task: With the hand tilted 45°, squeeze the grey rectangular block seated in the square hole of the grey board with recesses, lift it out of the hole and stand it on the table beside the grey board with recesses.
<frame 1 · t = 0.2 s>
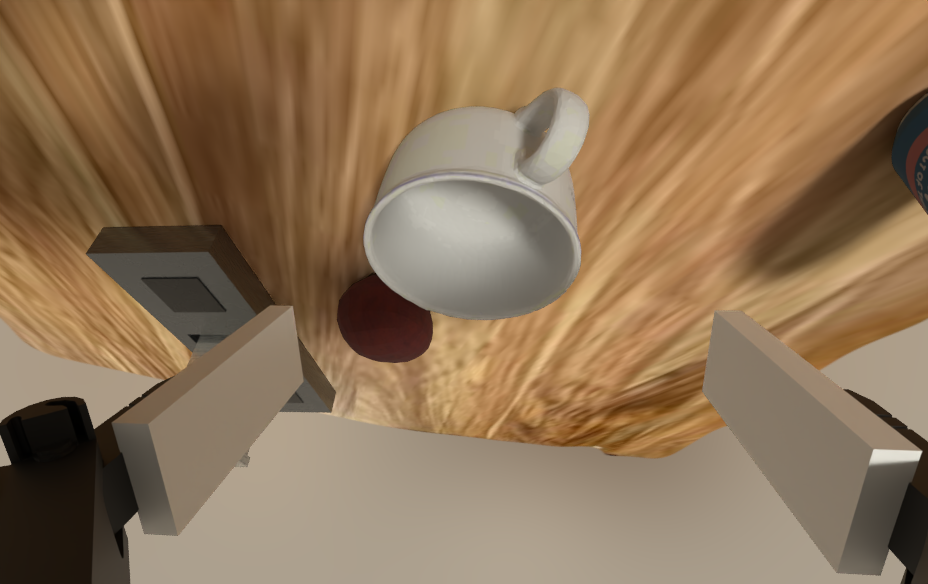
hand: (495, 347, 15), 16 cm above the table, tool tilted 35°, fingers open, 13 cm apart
grey board with recesses: (247, 329, 46), on the table
potato: (389, 288, 40), on the table
grey rectangular block: (247, 329, 46), resting in grey board with recesses
teacup: (494, 142, 28), on the table
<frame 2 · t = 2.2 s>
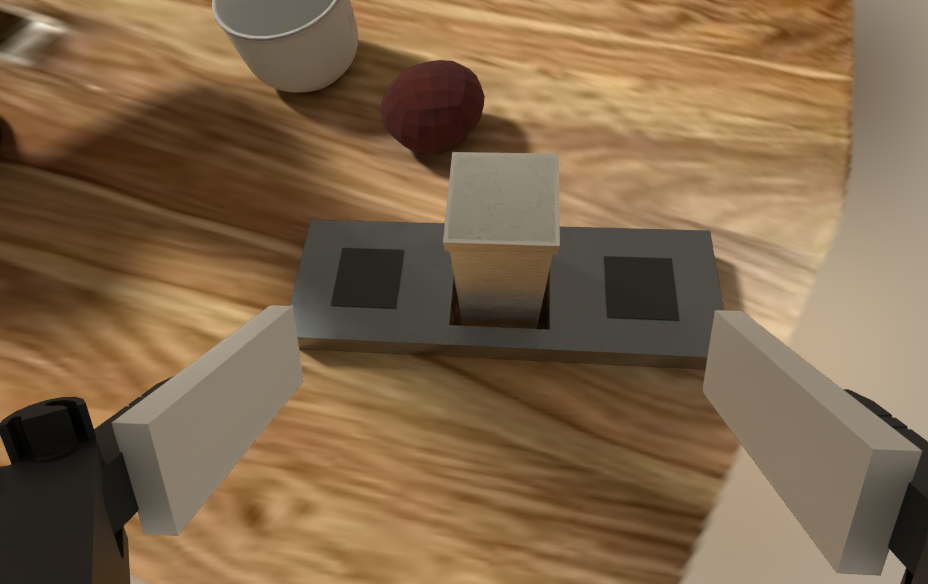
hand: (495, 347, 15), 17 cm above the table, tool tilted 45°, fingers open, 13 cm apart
grey board with recesses: (500, 297, 34), on the table
potato: (437, 137, 41), on the table
grey rectangular block: (500, 298, 34), resting in grey board with recesses
teacup: (301, 63, 46), on the table
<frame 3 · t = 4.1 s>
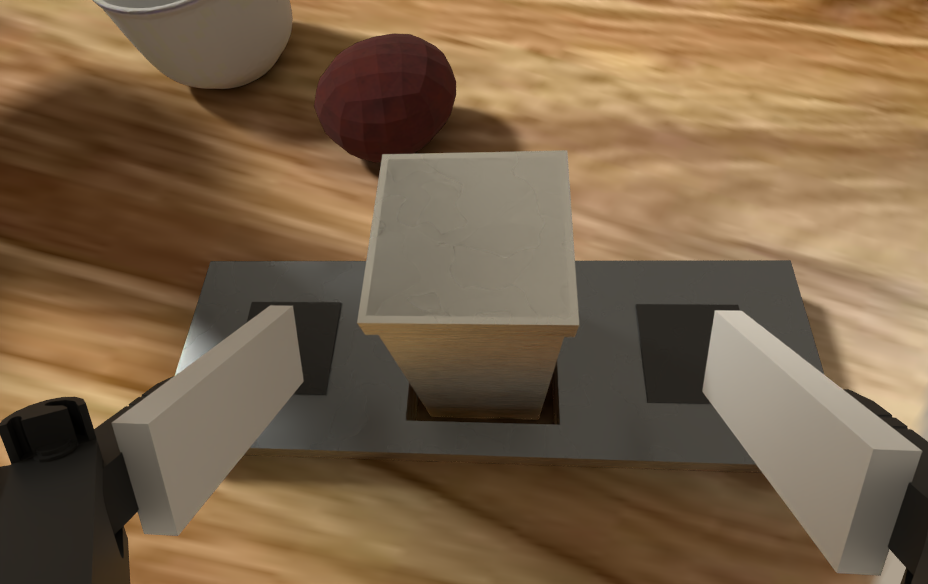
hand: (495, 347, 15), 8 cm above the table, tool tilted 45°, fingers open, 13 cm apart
grey board with recesses: (485, 366, 24), on the table
potato: (397, 140, 31), on the table
grey rectangular block: (485, 366, 24), resting in grey board with recesses
teacup: (225, 53, 36), on the table
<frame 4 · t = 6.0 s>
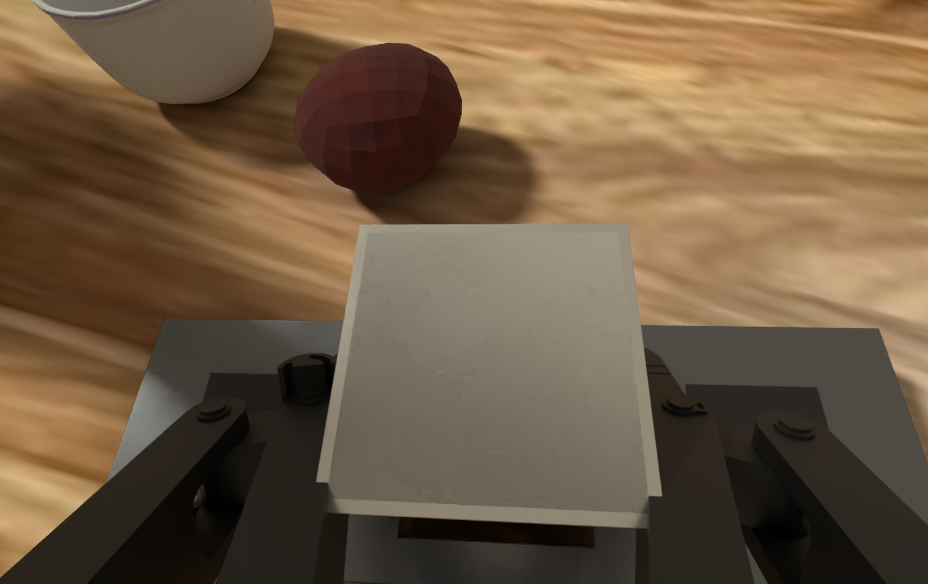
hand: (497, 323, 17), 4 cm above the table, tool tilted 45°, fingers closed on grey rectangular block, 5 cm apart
grey board with recesses: (497, 451, 19), on the table
potato: (392, 165, 27), on the table
grey rectangular block: (497, 451, 19), resting in grey board with recesses, touching gripper
teacup: (200, 62, 32), on the table
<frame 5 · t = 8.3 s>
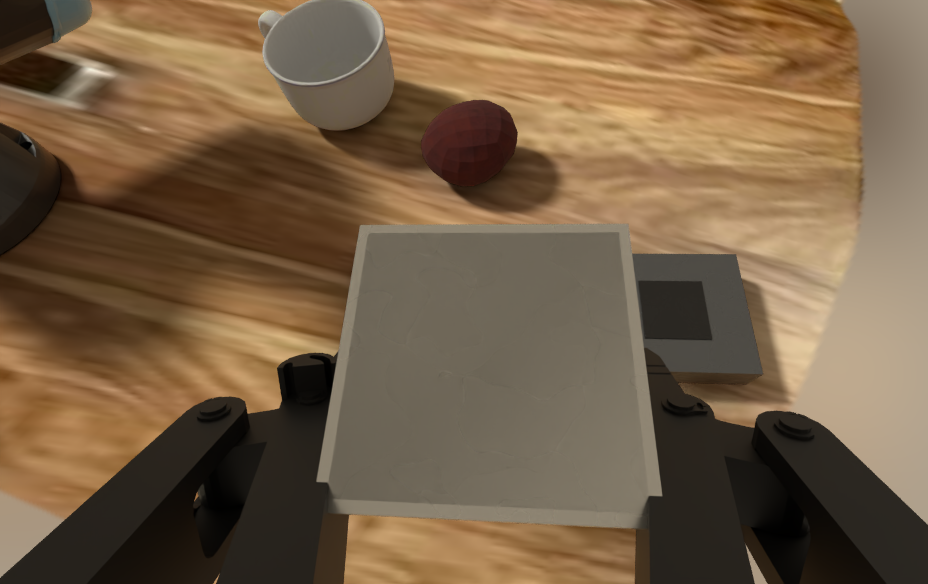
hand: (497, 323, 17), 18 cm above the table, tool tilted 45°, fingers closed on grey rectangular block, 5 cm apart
grey board with recesses: (541, 320, 37), on the table
potato: (471, 169, 44), on the table
grey rectangular block: (497, 451, 19), point 14 cm above the table, touching gripper
teacup: (339, 101, 49), on the table
when the fingers open (5 cm above the table, at t = 11.0 s): grey rectangular block stays where it is, on the table.
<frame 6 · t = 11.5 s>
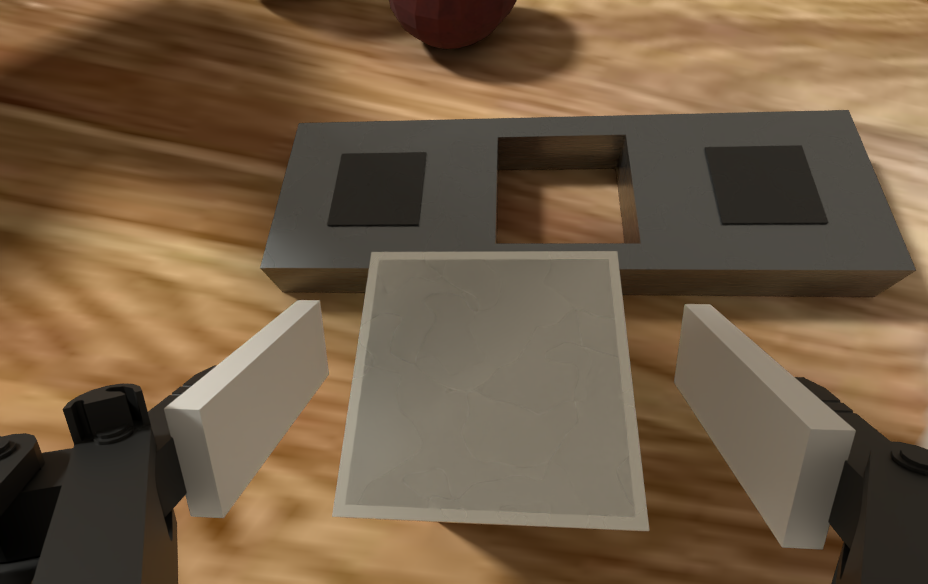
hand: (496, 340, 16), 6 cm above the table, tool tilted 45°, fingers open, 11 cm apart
grey board with recesses: (558, 217, 25), on the table
potato: (459, 36, 33), on the table
grey rectangular block: (497, 456, 20), on the table
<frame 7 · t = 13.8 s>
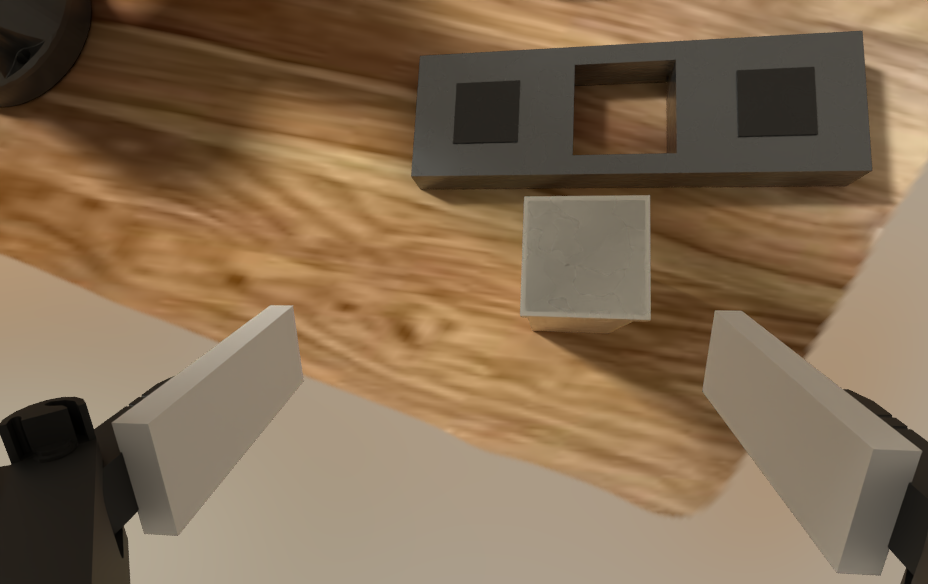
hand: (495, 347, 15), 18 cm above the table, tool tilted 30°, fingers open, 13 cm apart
grey board with recesses: (618, 126, 34), on the table
grey rectangular block: (570, 295, 33), on the table
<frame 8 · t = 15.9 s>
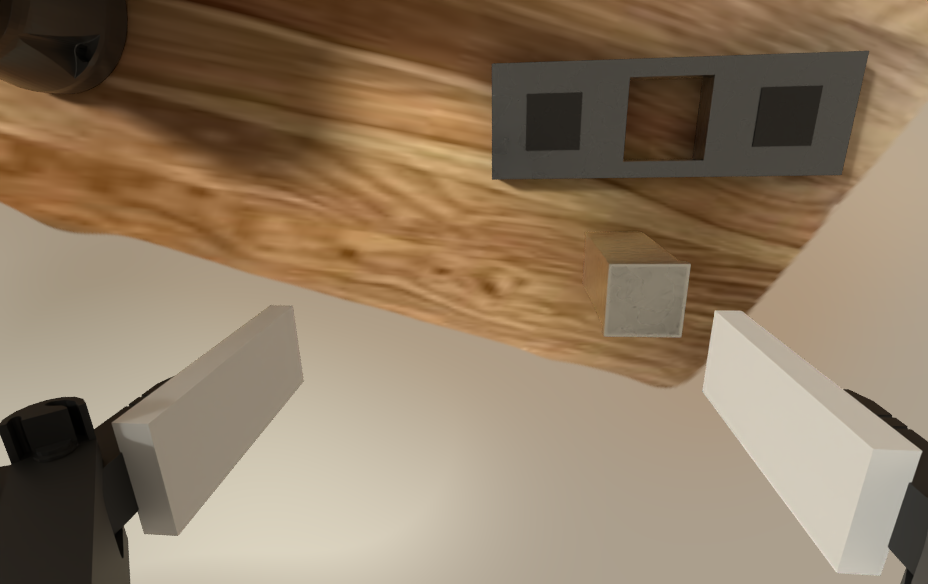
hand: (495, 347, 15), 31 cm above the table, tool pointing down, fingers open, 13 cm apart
grey board with recesses: (658, 120, 41), on the table
grey rectangular block: (611, 257, 45), on the table
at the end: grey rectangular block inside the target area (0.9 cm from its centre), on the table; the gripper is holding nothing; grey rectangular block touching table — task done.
